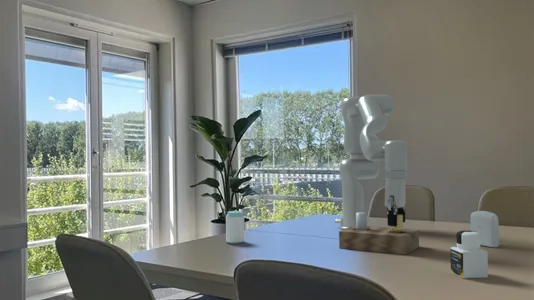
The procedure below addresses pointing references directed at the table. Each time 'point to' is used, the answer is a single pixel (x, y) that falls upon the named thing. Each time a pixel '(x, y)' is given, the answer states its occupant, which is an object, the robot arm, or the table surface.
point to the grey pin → (361, 221)
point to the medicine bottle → (469, 256)
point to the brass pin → (398, 225)
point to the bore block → (379, 240)
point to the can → (234, 227)
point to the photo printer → (485, 227)
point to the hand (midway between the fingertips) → (396, 224)
